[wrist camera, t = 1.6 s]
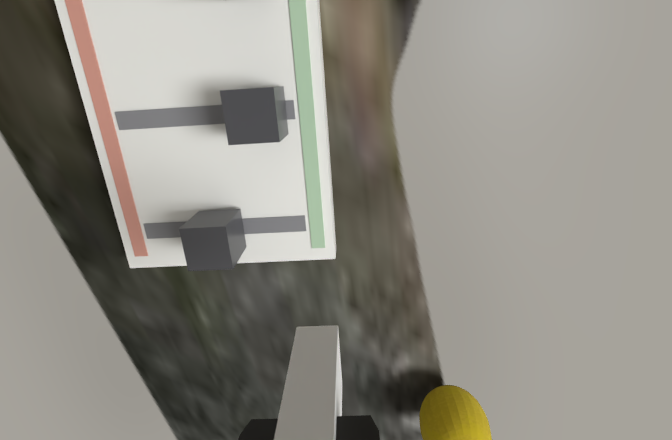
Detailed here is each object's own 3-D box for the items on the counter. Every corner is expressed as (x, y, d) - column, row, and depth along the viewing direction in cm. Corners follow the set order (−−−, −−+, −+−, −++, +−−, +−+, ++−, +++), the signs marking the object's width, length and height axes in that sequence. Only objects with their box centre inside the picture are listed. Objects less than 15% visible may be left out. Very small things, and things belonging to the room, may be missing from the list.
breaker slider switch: (199, 210, 27) (178, 228, 24) (240, 208, 27) (225, 226, 24) (206, 248, 28) (188, 271, 25) (246, 246, 28) (233, 269, 25)
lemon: (467, 360, 34) (502, 440, 26) (476, 406, 36) (510, 493, 28) (407, 372, 34) (424, 453, 27) (418, 416, 36) (437, 503, 29)
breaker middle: (237, 89, 24) (219, 90, 21) (283, 86, 24) (273, 86, 21) (243, 136, 25) (228, 145, 22) (288, 133, 25) (279, 142, 22)
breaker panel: (58, -62, 23) (32, -75, 21) (313, -84, 23) (310, -100, 21) (143, 256, 31) (129, 268, 29) (336, 247, 30) (335, 259, 28)
